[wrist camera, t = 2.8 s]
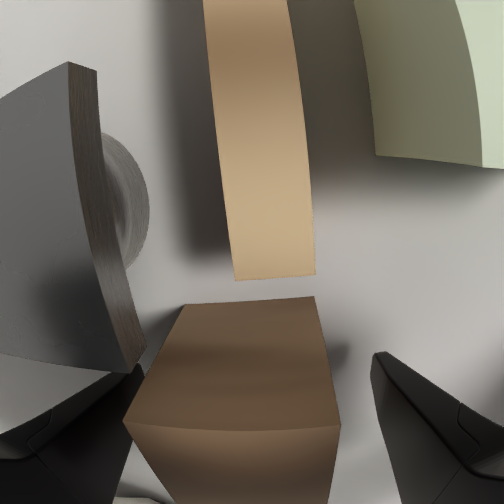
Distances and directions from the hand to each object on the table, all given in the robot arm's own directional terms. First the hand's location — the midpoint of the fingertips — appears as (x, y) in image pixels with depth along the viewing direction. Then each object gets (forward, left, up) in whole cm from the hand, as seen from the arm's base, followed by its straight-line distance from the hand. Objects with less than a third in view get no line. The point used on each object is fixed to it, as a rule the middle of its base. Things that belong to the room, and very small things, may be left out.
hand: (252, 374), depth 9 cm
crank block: (0, 0, -1) cm, 1 cm away
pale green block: (+9, -7, -1) cm, 11 cm away
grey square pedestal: (+5, +5, -1) cm, 8 cm away
